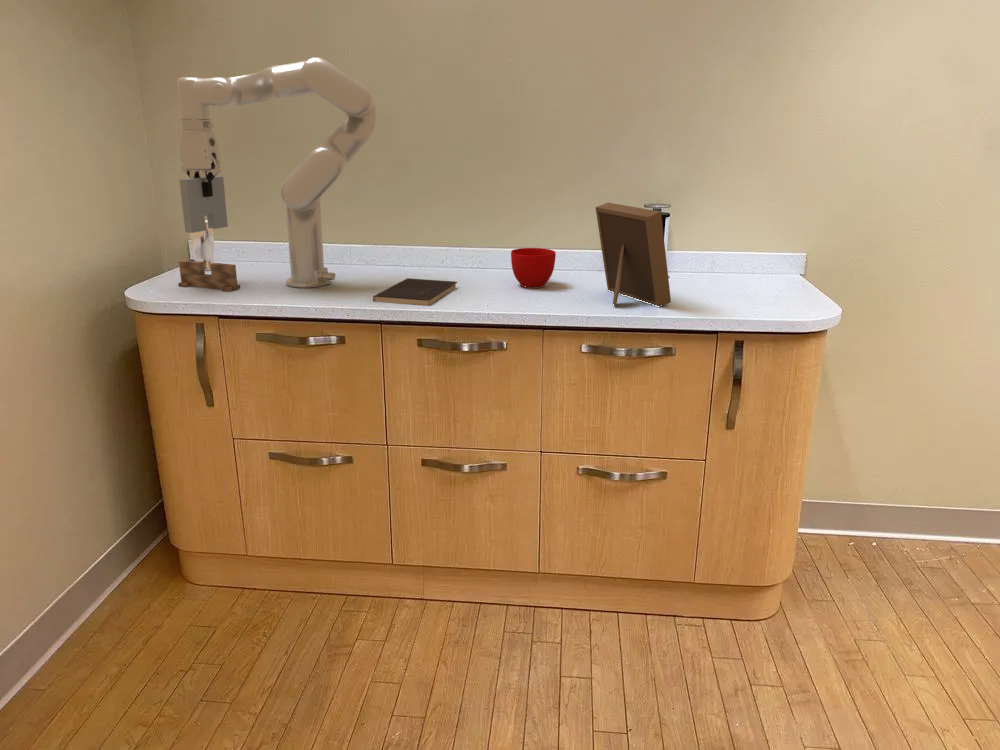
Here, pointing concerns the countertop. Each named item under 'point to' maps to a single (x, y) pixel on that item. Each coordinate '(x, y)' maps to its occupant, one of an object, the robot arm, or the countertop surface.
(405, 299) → the hardcover book
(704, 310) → the countertop surface
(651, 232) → the photo frame
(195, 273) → the walnut slotted plate
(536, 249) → the ceramic cup
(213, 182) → the gray square panel
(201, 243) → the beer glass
